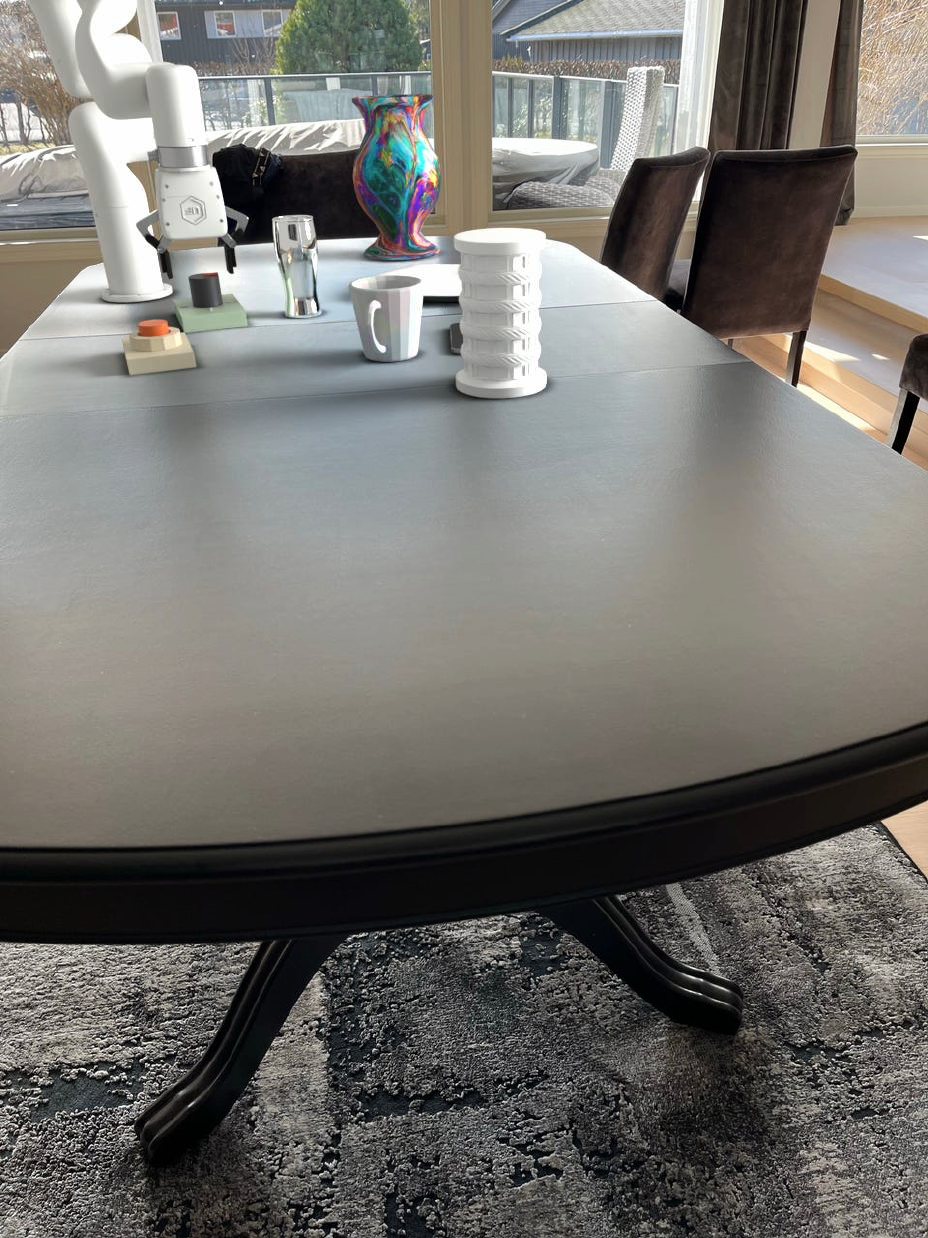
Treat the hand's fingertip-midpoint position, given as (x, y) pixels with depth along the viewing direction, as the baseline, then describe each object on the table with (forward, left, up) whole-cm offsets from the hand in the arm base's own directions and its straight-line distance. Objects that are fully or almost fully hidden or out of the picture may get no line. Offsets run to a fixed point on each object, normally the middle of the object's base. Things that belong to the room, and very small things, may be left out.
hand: (200, 274), depth 153 cm
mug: (+37, +20, -7) cm, 43 cm away
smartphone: (+33, +35, -7) cm, 49 cm away
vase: (-41, +46, -7) cm, 62 cm away
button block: (+23, -10, -7) cm, 26 cm away
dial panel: (+1, 0, -7) cm, 7 cm away
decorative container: (+55, +30, -7) cm, 63 cm away
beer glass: (+4, +15, -7) cm, 17 cm away
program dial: (+1, 0, -5) cm, 5 cm away
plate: (-3, +42, -7) cm, 43 cm away
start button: (+23, -10, -4) cm, 25 cm away
